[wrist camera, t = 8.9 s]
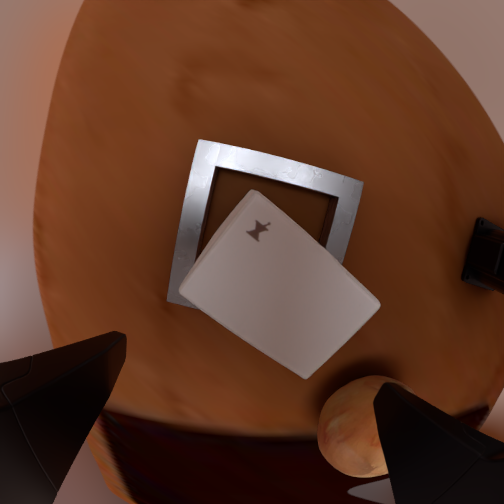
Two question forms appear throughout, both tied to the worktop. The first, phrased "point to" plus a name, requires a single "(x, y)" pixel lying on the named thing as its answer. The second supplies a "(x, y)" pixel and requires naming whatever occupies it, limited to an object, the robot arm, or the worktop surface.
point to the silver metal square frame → (264, 166)
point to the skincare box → (277, 287)
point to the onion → (354, 428)
